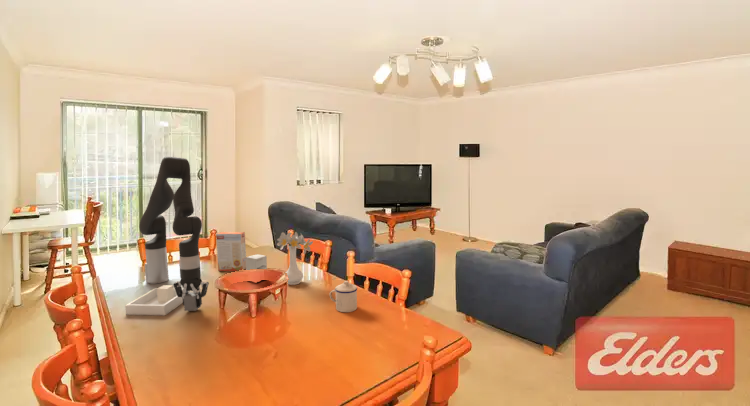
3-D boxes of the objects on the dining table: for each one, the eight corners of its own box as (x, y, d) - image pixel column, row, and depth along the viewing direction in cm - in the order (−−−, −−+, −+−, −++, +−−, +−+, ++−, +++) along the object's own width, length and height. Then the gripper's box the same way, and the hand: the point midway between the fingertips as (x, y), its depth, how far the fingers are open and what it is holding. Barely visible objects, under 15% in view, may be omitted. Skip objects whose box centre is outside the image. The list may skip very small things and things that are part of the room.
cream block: (157, 302, 172) (156, 288, 171) (164, 298, 176) (163, 285, 176) (168, 302, 172) (167, 288, 171) (174, 298, 176) (173, 285, 175)
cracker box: (247, 268, 223) (245, 231, 220) (242, 271, 217) (240, 233, 214) (223, 268, 224) (221, 231, 222) (217, 271, 218) (215, 233, 216)
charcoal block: (184, 310, 162) (183, 296, 161) (190, 306, 166) (189, 292, 165) (195, 310, 161) (194, 296, 161) (200, 306, 166) (199, 292, 165)
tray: (125, 314, 160) (125, 305, 160) (155, 296, 180) (155, 288, 179) (164, 315, 159) (164, 305, 159) (190, 297, 179) (189, 288, 179)
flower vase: (307, 288, 190) (305, 236, 186) (272, 285, 194) (270, 234, 191) (317, 280, 202) (316, 231, 199) (284, 277, 207) (282, 229, 203)
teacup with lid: (360, 305, 168) (360, 278, 166) (352, 314, 159) (352, 285, 158) (334, 302, 172) (333, 276, 170) (325, 310, 163) (324, 282, 162)
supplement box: (256, 284, 197) (255, 258, 195) (246, 281, 201) (245, 256, 199) (267, 279, 203) (266, 255, 201) (257, 277, 207) (256, 253, 205)
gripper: (211, 263, 165) (213, 303, 167) (177, 263, 165) (180, 302, 168) (202, 269, 157) (205, 310, 160) (167, 268, 158) (170, 309, 160)
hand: (192, 306), depth 164 cm, fingers closed on charcoal block, 4 cm apart
